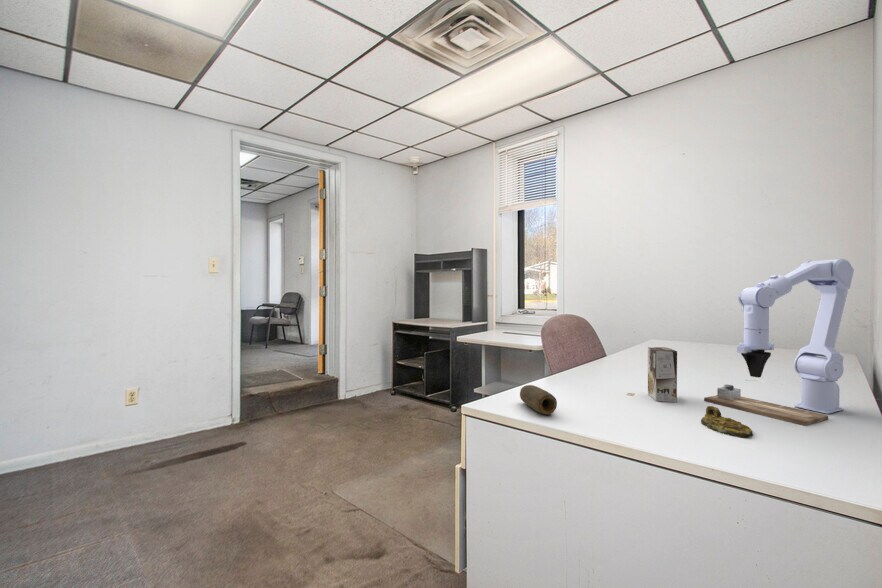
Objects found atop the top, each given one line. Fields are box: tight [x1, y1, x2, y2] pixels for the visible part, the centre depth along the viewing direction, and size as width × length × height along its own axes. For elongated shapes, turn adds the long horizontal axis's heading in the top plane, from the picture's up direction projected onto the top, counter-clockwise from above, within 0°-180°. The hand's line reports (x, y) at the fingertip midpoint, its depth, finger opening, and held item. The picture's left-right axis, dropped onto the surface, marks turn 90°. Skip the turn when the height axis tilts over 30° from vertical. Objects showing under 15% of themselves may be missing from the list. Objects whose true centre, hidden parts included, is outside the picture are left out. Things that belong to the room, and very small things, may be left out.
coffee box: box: [647, 346, 678, 403], centre depth 133 cm, size 9×6×16 cm
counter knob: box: [716, 384, 742, 401], centre depth 129 cm, size 5×4×4 cm
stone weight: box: [519, 384, 558, 416], centre depth 122 cm, size 15×7×7 cm, turn 15°
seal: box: [700, 405, 754, 439], centre depth 105 cm, size 9×5×15 cm
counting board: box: [703, 394, 829, 426], centre depth 120 cm, size 12×26×1 cm, turn 25°
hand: (755, 376), depth 117 cm, fingers closed
